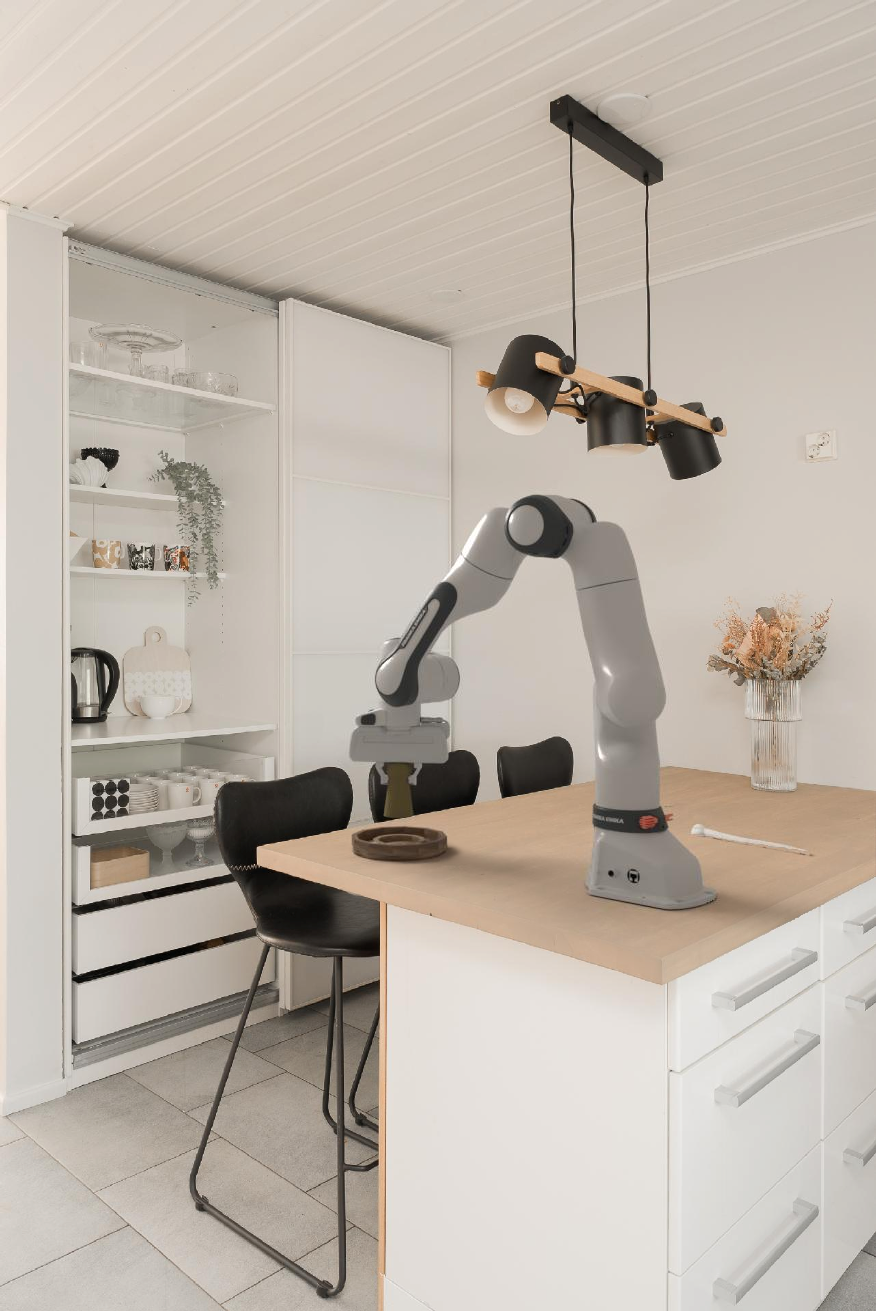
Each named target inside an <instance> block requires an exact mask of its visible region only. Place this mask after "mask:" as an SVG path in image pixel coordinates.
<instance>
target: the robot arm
mask: <svg viewBox="0 0 876 1311" xmlns="http://www.w3.org/2000/svg"><path fill="white" fill-rule="evenodd" d="M528 556H530V557H533V558H545V559H546V558H547V559H555V560H557V559H559V558H561V559H563V560H564V561H566V563H567V564H568V566H569V567H570V569H571V573H572V577H573V582H574V583H573V584H574V587H575V594H576V598H577V604H578V609H579V616H580V620H581V626H582V631H583V636H584V640H585V643H586V647H587V651H588V654H589V659H590V663H591V667H592V670H593V675H594V676H593V677H594V682H593V683H594V684H593V686H592V713H593V714H592V715H593V716H592V718H593V738H594V739H593V741H594V756H595V759H594V760H595V762H594V763H595V764H594V765H595V768H594V770H595V772H594V773H595V777H594V779H595V780H594V781H595V784H594V785H595V786H594V787H595V788H594V789H595V790H594V794H595V796H594V803H593V805H592V815H591V816H592V823H591V824H592V825H593V829H594V830H593V831H594V832H593V842H592V851H591V858H590V859H591V860H590V864H589V869H588V873H587V876H586V879H585V883H584V885H585V886H586V887H587V888H588V889H587V893H588V894H589V895H591V896H595V897H596V896H597V897H601V898H606V899H611V900H617V901H621V902H627V903H633V904H636V905H637V904H638V905H643V906H648V907H653V908H659V909H663V910H681V909H690V908H694V907H698V906H702V905H705V904H708V903H711V902H712V900H713V901H715V900H716V899H717V897H716V896H718V895H717V890H716V889H714V888H711V887H708V886H705V885H704V881H703V873H702V868H701V864H700V862H699V859H698V858H697V857H696V855H694V854H693V853H692V852H691V851H690V850H689V849H688V848H687V847H686V846H685V845H684V844H683V843H682V842H681V841H680V840H679V839H678V838H677V837H676V836H675V835H674V834H673V833H672V832H671V831H670V830H669V825H668V822H671V821H674V818H671V817H673V816H674V814H673V813H667V814H665V812H664V810H663V808H662V806H661V800H660V796H661V788H660V787H661V784H660V783H661V776H660V775H661V759H660V753H659V744H658V736H657V724H656V723H657V719H659V718H660V716H661V715H662V713H663V711H664V709H665V706H666V701H667V692H666V687H665V684H664V678H663V674H662V670H661V667H660V663H659V659H658V655H657V652H656V647H655V644H654V641H653V638H652V635H651V631H650V627H649V624H648V619H647V613H646V609H645V603H644V597H643V593H642V586H641V582H640V577H639V572H638V571H639V570H638V568H637V564H636V559H635V557H634V554H633V551H632V548H631V545H630V543H629V540H628V537H627V534H626V532H625V531H624V529H623V528H622V527H621V526H620V525H618V524H617V523H615V522H611V521H606V520H605V521H604V520H603V521H597V517H596V515H595V513H594V512H593V510H592V509H591V507H589V506H588V505H587V504H585V503H584V502H583V501H580V500H578V499H575V498H568V497H563V496H562V495H557V494H530V495H527V496H525V497H522V498H520V499H518V500H516V501H515V502H513V504H512V505H511V506H510V508H508V507H502V506H501V507H497V506H496V507H493V508H491V509H489V510H488V511H486V512H485V514H483V515H482V517H481V518H480V520H479V521H478V522H477V524H476V525H475V527H474V529H473V530H472V531H471V533H470V535H469V536H468V539H467V540H466V542H465V544H464V546H463V548H462V550H461V552H460V553H459V555H458V557H457V559H456V560H455V563H454V564H453V566H452V567H451V568H450V570H449V571H448V572H447V574H446V575H445V577H443V579H442V580H441V581H439V583H437V584H436V586H435V587H433V588H432V589H431V591H429V593H428V594H427V596H426V597H425V598H424V600H423V601H422V603H421V604H420V605H419V607H418V609H417V611H416V612H415V614H414V615H413V617H412V619H411V621H410V622H409V623H408V625H407V626H406V628H405V630H404V632H403V633H402V635H401V637H394V638H389V639H387V640H385V641H384V642H383V643H381V647H380V650H379V654H378V662H377V663H378V666H377V668H376V670H375V674H374V675H375V676H374V684H375V688H376V690H377V693H378V699H377V708H376V709H373V708H372V709H370V710H368V711H365V712H361V713H359V714H357V715H356V717H355V719H354V720H355V725H356V727H354V729H353V730H352V732H351V736H350V740H349V750H348V751H349V752H348V757H349V759H350V760H351V761H352V762H354V763H358V762H359V763H361V762H362V763H370V762H371V763H375V769H376V771H377V773H378V774H379V776H380V785H388V781H389V777H388V776H387V774H386V772H385V771H384V770H383V767H384V766H385V763H390V762H402V763H409V764H411V763H412V764H413V767H414V769H415V771H414V773H413V774H411V775H410V776H409V778H408V780H409V782H408V784H409V785H410V786H417V776H418V774H420V771H421V769H422V768H423V764H444V763H446V762H447V761H448V760H449V743H448V739H449V737H450V735H451V726H450V723H449V722H448V720H446V719H443V717H440V716H438V717H429V716H422V708H421V707H422V704H424V705H425V704H430V703H443V702H445V701H449V700H451V699H452V698H453V697H455V695H456V693H457V692H458V689H459V687H460V681H461V676H460V671H459V667H458V665H457V663H456V661H454V660H453V659H452V658H451V657H450V656H448V655H444V654H441V653H439V652H435V651H434V650H433V648H434V646H435V645H436V643H437V641H439V638H440V637H441V635H442V634H443V632H444V631H445V630H446V629H447V628H448V627H450V625H452V624H453V623H455V622H457V621H458V620H461V619H463V618H465V617H466V618H467V617H468V616H471V615H474V614H477V613H480V612H484V611H488V610H489V609H491V608H493V607H495V606H496V605H497V604H498V603H499V602H500V601H501V600H502V599H503V597H504V596H505V595H506V593H507V591H508V590H509V588H510V587H511V584H512V582H513V580H514V578H515V576H516V575H517V572H518V570H519V568H520V567H521V564H522V563H523V561H524V560H525V558H526V557H528ZM715 898H716V899H715ZM710 901H711V902H710ZM707 902H708V903H707Z"/></svg>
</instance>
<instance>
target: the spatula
mask: <svg viewBox="0 0 876 1311" xmlns="http://www.w3.org/2000/svg"><path fill="white" fill-rule="evenodd" d="M691 834H697V835H706V836H713V837H715V838H723V839H727V840H735V841H739V842H749V843H754V844H764V845H768V846H774V847H785V848H788V849H798V850H801V851H808V850H807V849H803V848H799V847H796V846H793V845H792V846H791V845H787V844H783V843H777V842H771V841H767V840H760V839H759V840H758V839H754V838H752V839H751V838H747V837H743V836H737V835H734V834H733V835H732V834H728V833H724V832H720V831H717V830H714V829H710V828H708V827H707V826H705V825H703V824H701V823H696V824H695V825H694V826H692V829H691V832H690V835H691Z"/></svg>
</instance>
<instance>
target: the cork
mask: <svg viewBox="0 0 876 1311" xmlns="http://www.w3.org/2000/svg"><path fill="white" fill-rule="evenodd" d="M385 774H386V775H387V776H388V777H389V781H388V784H387V790H386V798H385V804H384V810H383V812H384V813H383V816H384V817H386V818H392V819H406V818H407V819H408V818H411V817H413V816H414V810H413V802H412V793H411V785H409V784H408V782H409V780H408V778H409V776H410V775H412V766H411V763H402V762H388V764H387V765H386V769H385Z"/></svg>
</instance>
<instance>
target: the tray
mask: <svg viewBox="0 0 876 1311" xmlns="http://www.w3.org/2000/svg"><path fill="white" fill-rule="evenodd" d="M351 846H352V853H353V855H356V856H358V857H361V858H365V859H369V860H375V861H376V860H377V861H391V862H394V861H395V862H396V861H398V862H403V861H404V862H405V861H418V860H419V861H421V860H426V859H433V858H436V857H439V856H441V855H443V854H444V853H445V852H446V851H447V850H446V848H447V847H448V836H447V835H446V834H445V832H444V831H443V830H442V831H441V830H438V829H433V828H430V827H421V826H406V825H401V826H400V825H399V826H397V825H396V826H379V827H371V828H365V829H361V830H359V831H356V832H354V833H352V834H351Z"/></svg>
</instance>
